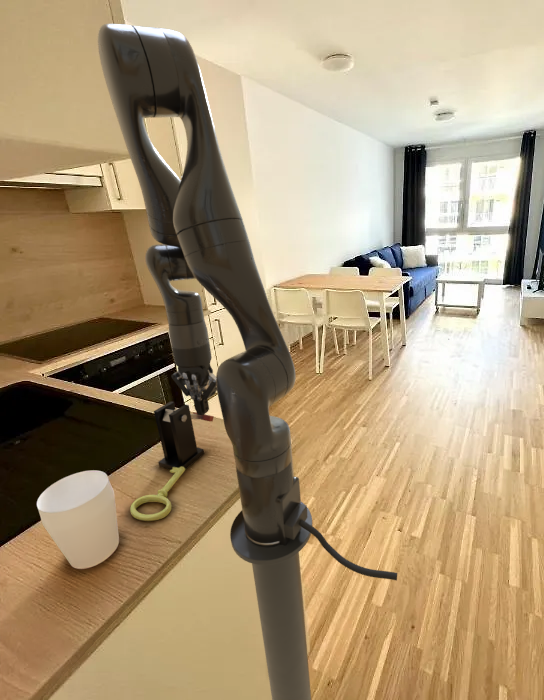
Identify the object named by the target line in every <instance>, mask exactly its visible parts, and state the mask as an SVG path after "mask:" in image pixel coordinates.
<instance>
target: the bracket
mask: <svg viewBox="0 0 544 700" xmlns="http://www.w3.org/2000/svg"><path fill="white" fill-rule="evenodd" d="M165 409H176V404H175V402H174V401H169V402H167V403H165V404H163V405H162V406H160V407H158V408H157V409H155V410H153V413H154V418H155V422H156V427H157V431H158V436H159V440H160V443H161V448H162V454H163V458H162V459H160V460H159V461H158V462H157V463H158V466H159V468H162V469H166V470H168V471H170V470H172V468H173V467H176V468H180V467H184V468H185V470H187V469H188V468H189V467H190V466H192V465H193V464H194V463H195V462H196V461H198V460H199V459H200V458H201V457H202V456H204V455H205V449H204V448H201V447H198V446H197V445H198V444H197V441H196V436H195V430H194V425H193V419H191V414H192V413H191V410H190V405H189V404H183V405H182V406H180V407H179V408H177V409H176V411H174V412H172V413H171V414H169V418H170V422H167V421H163V417H164V413H165Z"/></svg>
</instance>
